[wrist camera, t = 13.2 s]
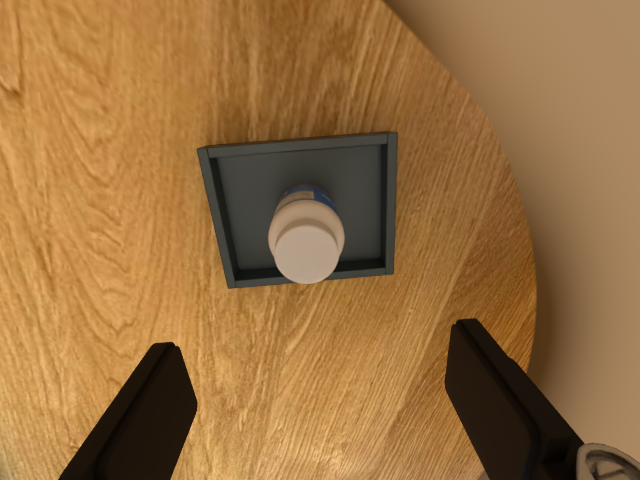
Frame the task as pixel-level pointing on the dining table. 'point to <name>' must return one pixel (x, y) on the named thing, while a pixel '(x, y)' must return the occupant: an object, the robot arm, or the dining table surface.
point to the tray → (295, 169)
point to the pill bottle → (306, 234)
